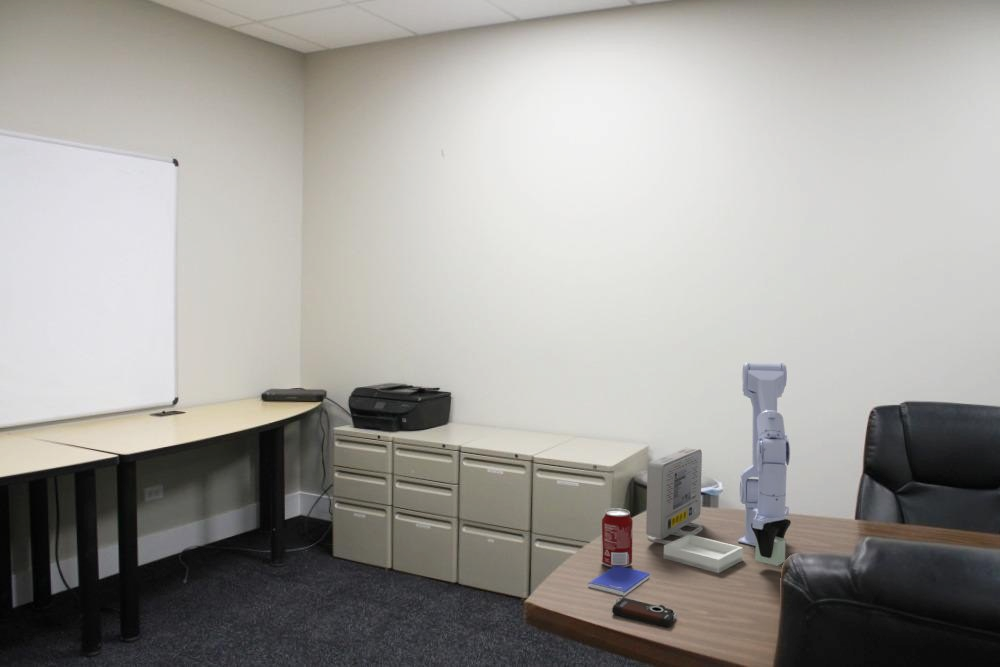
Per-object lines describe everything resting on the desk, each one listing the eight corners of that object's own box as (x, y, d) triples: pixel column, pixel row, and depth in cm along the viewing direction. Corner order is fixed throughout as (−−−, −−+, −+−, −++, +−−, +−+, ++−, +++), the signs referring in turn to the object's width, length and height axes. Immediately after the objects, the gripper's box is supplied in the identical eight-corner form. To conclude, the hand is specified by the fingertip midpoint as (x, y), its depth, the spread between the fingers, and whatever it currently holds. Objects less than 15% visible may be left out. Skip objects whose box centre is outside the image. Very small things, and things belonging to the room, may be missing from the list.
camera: (624, 592, 150) (680, 606, 144) (623, 607, 150) (679, 621, 144) (612, 601, 144) (669, 615, 139) (611, 616, 144) (668, 631, 139)
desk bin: (689, 546, 184) (689, 534, 184) (742, 560, 175) (742, 547, 175) (663, 558, 176) (663, 545, 176) (718, 573, 167) (718, 559, 166)
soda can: (631, 571, 167) (632, 516, 167) (600, 569, 169) (601, 515, 168) (632, 560, 174) (632, 508, 173) (602, 558, 175) (602, 506, 175)
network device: (678, 518, 208) (680, 445, 207) (710, 524, 202) (712, 449, 201) (637, 543, 187) (638, 461, 186) (671, 550, 182) (672, 466, 181)
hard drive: (624, 590, 154) (649, 572, 164) (588, 581, 158) (614, 564, 168) (624, 598, 154) (649, 580, 164) (588, 589, 158) (614, 571, 169)
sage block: (762, 555, 172) (763, 533, 172) (784, 561, 169) (785, 538, 168) (755, 560, 169) (755, 537, 169) (777, 565, 166) (778, 543, 165)
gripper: (768, 483, 176) (766, 542, 177) (739, 495, 165) (738, 557, 166) (798, 489, 171) (797, 549, 172) (771, 502, 161) (769, 565, 161)
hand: (770, 554), depth 169 cm, fingers closed on sage block, 4 cm apart
